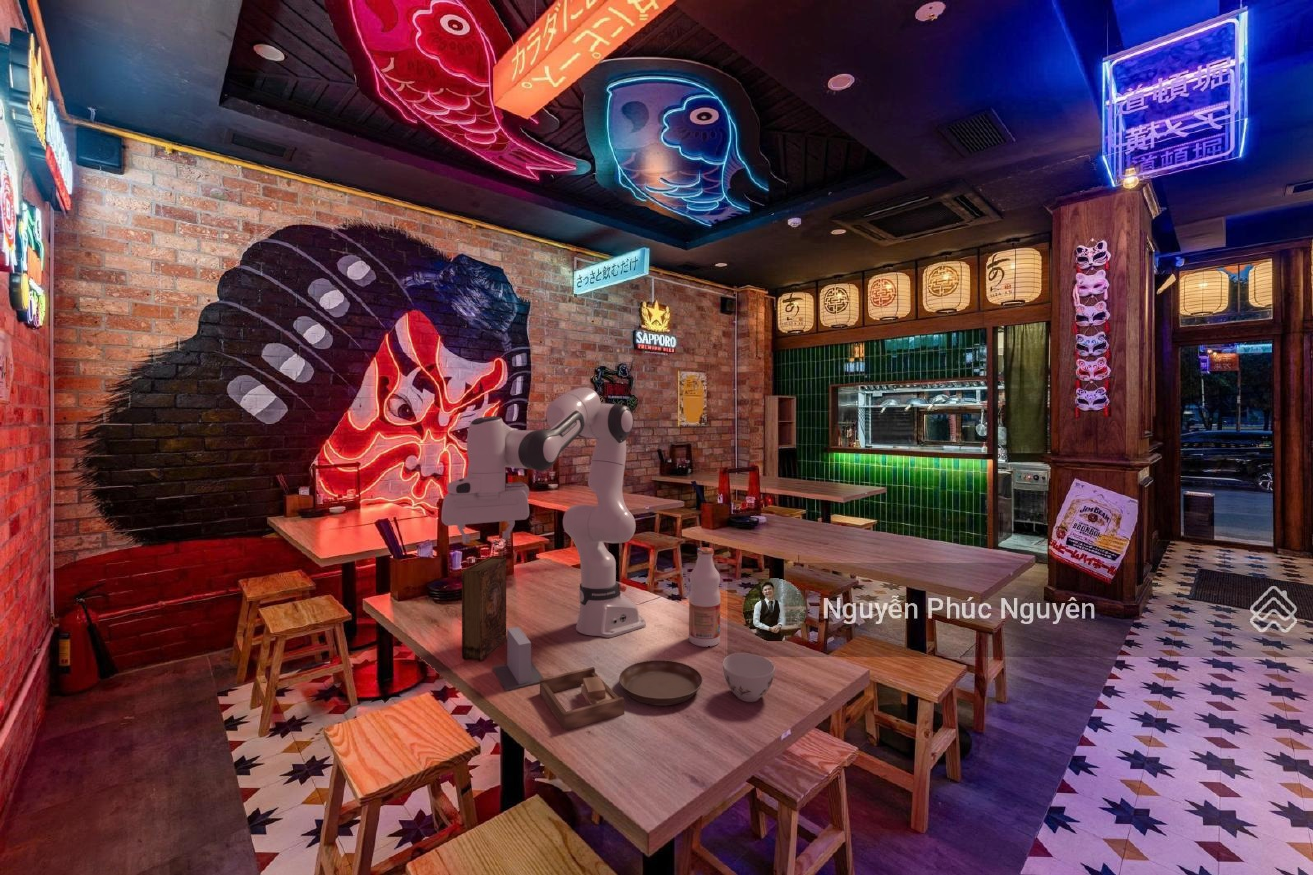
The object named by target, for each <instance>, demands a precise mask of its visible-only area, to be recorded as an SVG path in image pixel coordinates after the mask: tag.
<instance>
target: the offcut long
mask: <svg viewBox="0 0 1313 875" xmlns="http://www.w3.org/2000/svg"><path fill="white" fill-rule="evenodd" d="M580 693H581V695H582V696H583V697H584V698H585V699H586V700H587V701H588V698H587V695H586V693H585V690H584V687H583V684H581V686H580ZM612 699H613V698H612V697H611V696H610V695H609V694H608V693H607V692H606V698H603V699H597V700H590V701H588V703H589V704H590V705H593V704H597V703H601V702H604V701H608V700H612Z"/></svg>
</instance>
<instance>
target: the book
mask: <svg viewBox="0 0 1313 875" xmlns="http://www.w3.org/2000/svg"><path fill="white" fill-rule="evenodd" d="M505 643H507V558H506V557H503V556H490V557H487V558H486V559H484V560H481V561H479V562H477V563H475V564H474V565H471V566H468V567H467V568H465V569H463V570H462V572H461V656H462V659H463V660H469V659H470V660H471V659H473V660H476V661H477V660H478V661H479V662H482V661H484V660H486V659H487V658H488V657H489V656H490V655H491V654H493V653H494V652H495V651H497V649H498V648H500V647H501V646H502V645H504V644H505Z"/></svg>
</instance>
